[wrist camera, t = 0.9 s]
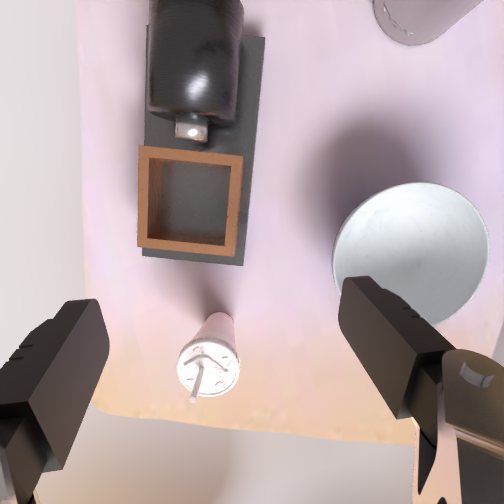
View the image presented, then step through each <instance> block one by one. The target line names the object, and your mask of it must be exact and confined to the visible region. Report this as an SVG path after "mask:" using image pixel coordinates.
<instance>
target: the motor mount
mask: <svg viewBox="0 0 504 504" xmlns="http://www.w3.org/2000/svg"><path fill="white" fill-rule="evenodd" d="M243 18H244V10H243V6H242V4H241V2H240V0H150V2H149V25H147V39H146V89H145V140H144V146H141V145H139V168H138V231H137V247H142V256H148V257H158V258H168V259H178V260H188V261H198V262H207V263H217V264H227V265H237V266H243V264H244V255H245V244H246V234H247V224H248V214H249V203H250V193H251V183H252V173H253V162H254V152H255V142H256V132H257V122H258V111H259V101H260V91H261V81H262V70H263V60H264V50H265V37H256V36H246V35H242V30H243Z"/></svg>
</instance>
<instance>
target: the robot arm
mask: <svg viewBox="0 0 504 504" xmlns="http://www.w3.org/2000/svg"><path fill="white" fill-rule="evenodd" d="M482 1H483V0H374V10H375V15H376V18H377V20H378V23H379V25H380V27H381V28H382V29H383V31H384V32H385V33H386V34H387V35H388V36H389V37H390V38H391V39H393V40H395V41H397V42H399V43H401V44H405V45H421V44H425V43H429V42H430V41H432V40H434V39H436V38H438V37H439V36H440V35H442V34H443V33H444V32H445V31H447V30H448V29H449V28H450V27H451V26H453V25H454V24H455V23H456V22H458V21H459V20H460V19H461V18H462V17H464V16H465V15H466V14H467V13H469V12H470V11H471V10H472V9H473V8H475V7H476V6H477V5H478V4H479V3H481V2H482ZM338 321H339V326H340V329H341V331H342V333H343V335H344V336H345V338H346V340H347V341H348V343H349V344H350V346H351V348H352V349H353V351H354V352H355V354H356V356H357V357H358V359H359V360H360V362H361V364H362V365H363V367H364V368H365V370H366V372H367V373H368V375H369V376H370V378H371V380H372V381H373V383H374V384H375V386H376V387H377V389H378V391H379V392H380V394H381V395H382V397H383V399H384V400H385V402H386V403H387V405H388V407H389V408H390V410H391V411H392V413H393V415H394V416H395V418H396V419H403V418H410V417H413V418H414V419H415V421H416V422H417V424H418V426H417V429H416V433H415V455H414V476H413V497H412V504H504V367H502V366H501V365H500V364H498V363H497V362H495V361H494V360H492V359H490V358H488V357H486V356H484V355H482V354H479V353H476V352H473V351H469V350H463V349H456V348H455V347H454V346H453V345H452V344H451V343H450V342H448V341H447V340H446V339H445V338H444V337H443V336H442V335H441V334H440V333H439V332H438V331H437V330H436V329H434V328H433V327H432V326H431V325H430V324H429V323H428V322H427V321H426V320H425V319H424V318H423V317H420V315H419V314H418V313H417V312H416V311H415V310H414V309H411V306H410V305H409V304H408V303H407V302H406V301H404V300H403V299H402V298H401V297H400V296H398V295H397V294H395V293H393V292H391V291H389V290H387V289H385V288H384V289H382V288H381V287H380V286H379V285H378V284H377V283H376V282H375V281H374V280H373V279H372V278H371V277H370V276H367V275H366V276H355V277H346V278H345V279H344V281H343V285H342V292H341V299H340V306H339V313H338ZM109 347H110V345H109V337H108V333H107V330H106V326H105V323H104V319H103V316H102V312H101V309H100V306H99V303H98V301H97V300H96V299H84V300H73V301H67V302H65V304H64V305H63V306H62V307H61V309H60V310H59V312H58V313H57V314H56V316H55V317H54V318H53V319H48V320H46V321H45V322H44V323H42V324H41V325H40V326H38V327H37V328H35V329H34V330H33V331H31V332H30V333H29V335H28V336H27V337H26V338H25V340H24V341H23V342H22V343H21V345H20V346H19V349H16V351H15V352H14V353H13V354H12V356H11V357H10V358H9V361H8V362H6V363H5V364H4V365H3V367H2V368H1V369H0V504H40V501H39V497H38V494H37V492H36V490H35V487H36V485H37V483H38V480H39V478H40V476H41V474H42V473H44V472H50V471H57V470H62V469H63V467H64V465H65V462H66V460H67V457H68V455H69V452H70V450H71V447H72V445H73V442H74V440H75V437H76V435H77V432H78V430H79V427H80V425H81V423H82V420H83V418H84V415H85V413H86V410H87V408H88V405H89V403H90V400H91V398H92V395H93V393H94V390H95V388H96V386H97V383H98V381H99V378H100V376H101V373H102V371H103V368H104V366H105V363H106V361H107V358H108V355H109Z"/></svg>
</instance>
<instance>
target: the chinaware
mask: <svg viewBox="0 0 504 504" xmlns="http://www.w3.org/2000/svg"><path fill="white" fill-rule="evenodd" d="M489 255H490V243H489V236H488V231H487V228H486V225H485V223H484V220H483V218H482V216H481V215H480V213H479V212H478V210H477V209H476V208H475V206H474V205H473V204H472V203H471V202H470V201H469V200H468V199H467V198H465V197H464V196H463V195H461V194H460V193H458V192H457V191H455V190H453V189H451V188H448V187H446V186H443V185H439V184H435V183H428V182H411V183H404V184H399V185H396V186H392V187H389V188H387V189H384V190H382V191H380V192H378V193H376V194H374V195H372V196H371V197H369V198H367V199H366V200H365V201H363V202H362V203H361V204H359V205H358V206H357V207H356V208H355V209H354V210H353V211H352V212H351V213H350V214H349V215H348V217H347V218H346V219H345V221H344V222H343V224H342V226H341V227H340V229H339V231H338V233H337V236H336V239H335V242H334V246H333V251H332V272H333V278H334V282H335V285H336V288H337V291H338V293H339V295H340V297H341V292H342V285H343V281H344V279H345V278H346V277H355V276H366V275H367V276H370V277H371V278H372V279H373V280H374V281H375V282H376V283H377V284H378V285H379V286H380V287H381V288H382V289H384V288H385V289H387V290H389V291H391V292H393V293H395V294H397V295H398V296H400V297H401V298H402V299H403V300H404V301H406V302H407V303H408V304H409V305H410V306H411V309H414V310H415V311H416V312H417V313H418V314H419V315H420V317H423V318H424V319H425V320H426V321H427V322H428V323H429V324H430V325H431V326H432V327H433V326H435V325H438V324H440V323H442V322H444V321H446V320H447V319H449V318H450V317H452V316H453V315H455V314H456V313H457V312H459V311H460V310H461V309H462V308H463V307H464V306H465V305H466V304H467V303H468V302H469V301H470V300H471V298H472V297H473V296H474V295H475V293H476V292H477V290H478V288H479V287H480V285H481V283H482V281H483V279H484V276H485V273H486V270H487V267H488V262H489Z"/></svg>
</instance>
